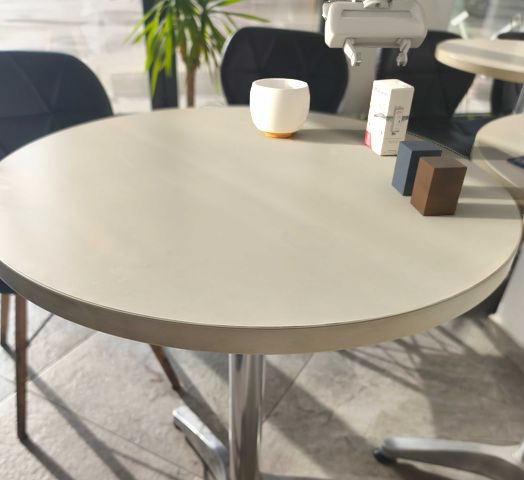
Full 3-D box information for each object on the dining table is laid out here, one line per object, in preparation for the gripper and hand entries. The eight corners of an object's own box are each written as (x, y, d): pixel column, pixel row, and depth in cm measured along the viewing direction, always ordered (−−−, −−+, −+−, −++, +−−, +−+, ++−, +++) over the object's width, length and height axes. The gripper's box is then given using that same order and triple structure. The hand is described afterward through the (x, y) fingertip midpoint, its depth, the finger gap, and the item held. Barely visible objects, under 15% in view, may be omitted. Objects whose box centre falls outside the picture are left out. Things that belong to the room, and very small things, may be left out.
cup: (256, 143, 100) (257, 90, 94) (244, 127, 109) (244, 78, 103) (314, 141, 102) (319, 89, 96) (297, 125, 111) (300, 77, 105)
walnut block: (439, 201, 78) (451, 155, 73) (454, 214, 74) (467, 167, 69) (409, 202, 77) (419, 156, 73) (423, 215, 73) (434, 168, 69)
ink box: (363, 143, 102) (372, 78, 94) (385, 142, 103) (396, 78, 95) (379, 156, 95) (390, 87, 88) (402, 155, 96) (416, 87, 89)
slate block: (419, 183, 84) (429, 140, 79) (431, 194, 80) (442, 149, 76) (391, 184, 83) (399, 141, 79) (402, 195, 79) (411, 150, 75)
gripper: (324, -15, 94) (332, 52, 93) (425, -13, 97) (435, 52, 95) (317, 11, 100) (324, 75, 99) (412, 13, 103) (420, 74, 102)
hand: (379, 64), depth 97 cm, fingers open, 8 cm apart
